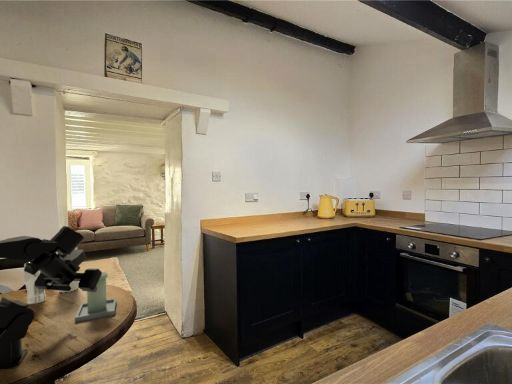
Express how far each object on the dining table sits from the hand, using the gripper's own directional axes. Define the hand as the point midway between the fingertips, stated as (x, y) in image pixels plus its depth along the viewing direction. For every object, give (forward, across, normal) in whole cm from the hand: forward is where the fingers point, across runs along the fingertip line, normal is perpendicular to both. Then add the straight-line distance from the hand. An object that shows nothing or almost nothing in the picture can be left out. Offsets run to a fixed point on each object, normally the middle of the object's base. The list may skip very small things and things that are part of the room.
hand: (83, 290), depth 91 cm
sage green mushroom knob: (+11, 0, +2) cm, 11 cm away
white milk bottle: (+24, +25, -10) cm, 36 cm away
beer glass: (+16, +29, -2) cm, 33 cm away
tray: (+11, 0, +3) cm, 12 cm away
